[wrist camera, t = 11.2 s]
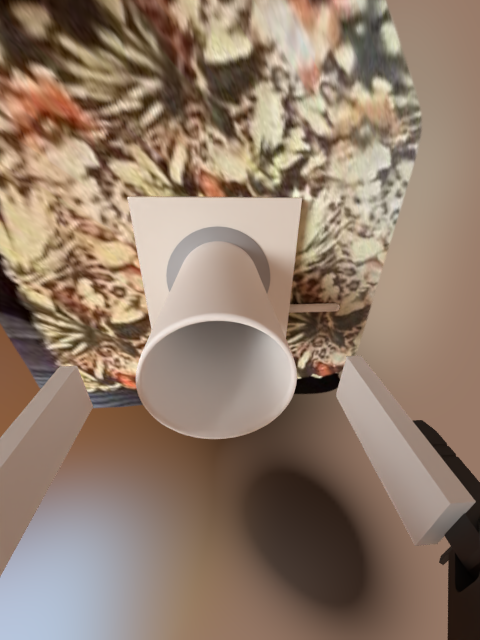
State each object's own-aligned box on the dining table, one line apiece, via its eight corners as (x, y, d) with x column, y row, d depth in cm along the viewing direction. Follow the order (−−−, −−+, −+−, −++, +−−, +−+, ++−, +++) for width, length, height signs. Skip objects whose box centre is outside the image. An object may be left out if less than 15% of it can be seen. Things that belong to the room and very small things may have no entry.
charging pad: (132, 196, 24) (126, 197, 23) (360, 197, 26) (369, 198, 24) (157, 338, 32) (154, 345, 30) (331, 333, 33) (336, 340, 32)
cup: (265, 249, 26) (320, 330, 12) (248, 319, 29) (273, 444, 15) (184, 233, 24) (136, 302, 10) (176, 308, 28) (133, 434, 14)
